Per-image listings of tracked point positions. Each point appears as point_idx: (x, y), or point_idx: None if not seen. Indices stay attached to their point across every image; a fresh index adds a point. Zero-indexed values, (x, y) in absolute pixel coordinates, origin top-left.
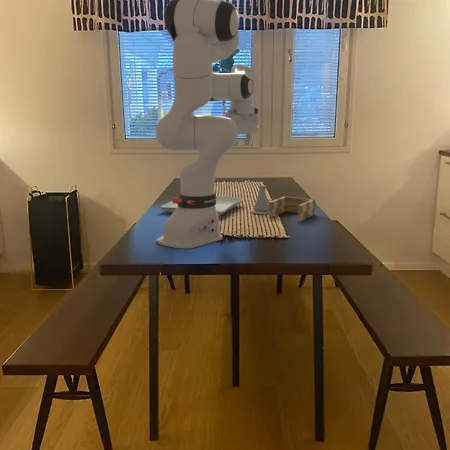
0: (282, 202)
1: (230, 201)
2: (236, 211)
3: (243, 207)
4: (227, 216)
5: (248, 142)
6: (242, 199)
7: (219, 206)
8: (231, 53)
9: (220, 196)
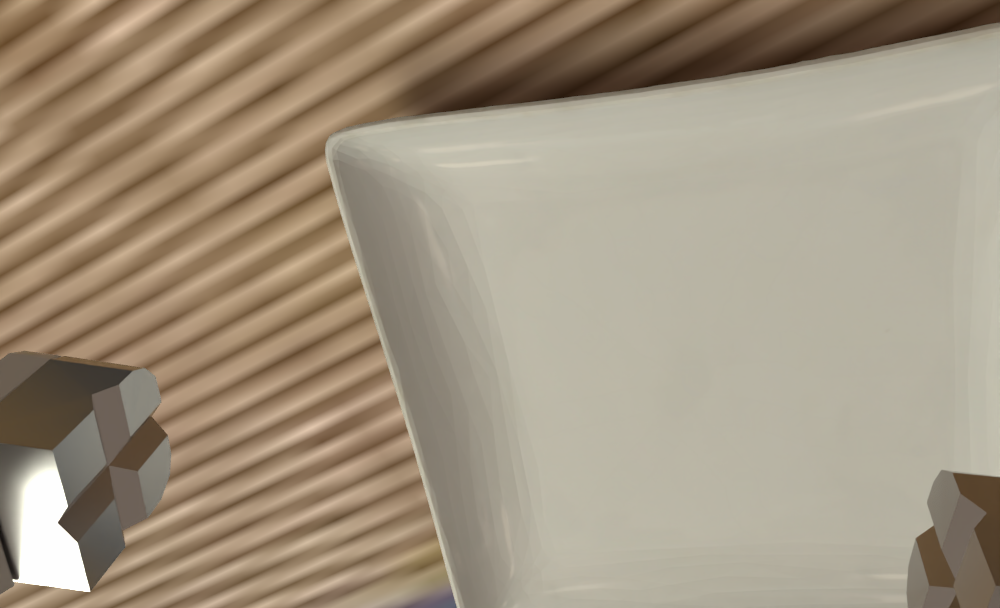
0: None
1: (413, 259)
2: (659, 43)
3: (438, 74)
4: (946, 5)
5: (64, 405)
6: (347, 149)
7: (590, 285)
8: None
9: (405, 391)
